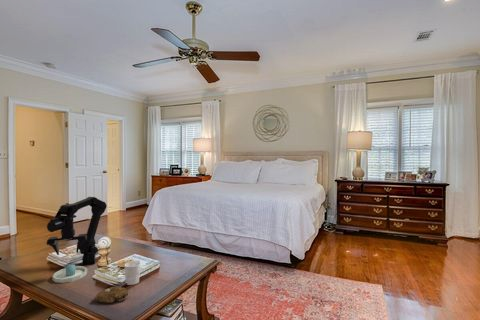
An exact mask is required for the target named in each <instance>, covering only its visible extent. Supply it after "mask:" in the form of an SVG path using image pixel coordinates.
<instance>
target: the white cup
mask: <svg viewBox="0 0 480 320" xmlns="http://www.w3.org/2000/svg"><path fill="white" fill-rule="evenodd" d="M140 274H141V262H140V261H138V260H131V261H127V262H126V263H125V264H124V278H125V283H126V282H127V284H126V285H127V286H133V285H136V284H138V283H139V282H140V276H141V275H140Z"/></svg>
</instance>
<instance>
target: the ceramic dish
mask: <svg viewBox="0 0 480 320" xmlns="http://www.w3.org/2000/svg"><path fill="white" fill-rule="evenodd" d="M87 274H88V268H87V267H86V266H85V265H82V266H81V265H75V275H73V276H69V277H67V276H66V267H64V268H62V269H59V270H58V271H56V272H54V274H53V275H52V281H54V283H59V284H60V283H61V284H64V283H72V282H75V281H78V280H81V279H83V278H84V277H85V276H87Z"/></svg>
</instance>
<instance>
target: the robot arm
mask: <svg viewBox="0 0 480 320" xmlns="http://www.w3.org/2000/svg"><path fill="white" fill-rule="evenodd" d="M88 206H89V207H91V214H92V215H91V218H90V220H89V221H90V222H89V225H88V227H87V231H86V233H80V234H78V235H76V229H74V218H77V215H75V214H76V213H78V211H79V210H81V209H83V208H85V207H88ZM106 209H107V203H106V201H103V200H101V199H98V198H97V197H96V196H88V197H86V198H83V199H82V200H79V201H76V202H73V203H67V204H66V203H65V204H62V205H61V206H59V209H58V210H57V212H56V214H55V215H54V218H51V219H50V220H49V221H48V223H47V225H46V228H47V231H48V232H50V233H54V232H58V231H60V235H61V237H59V236H50V237H49V238H48V239H47V240H46V246H49V247H52V249H53V250H54V252H55V254H56V255H57V256H59V254H60V250H59V249H60V248H59V242H67V241H75V240H76V241H77V243H76V251H75V252H76V253H77V254H78V252H80V254H81V255H83V256H82V257H81V258H82V259H81V261H82V263H81V264H82V266H89V265H95V264H96V261H97V259H96V255H97V254H98V252H99V248H98V247H97V246H96V240H95V236H96V233H97V230H98V226H99V222H100V220H101V216H102V215H103V214H104V213H105V211H106Z"/></svg>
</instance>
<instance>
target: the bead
mask: <svg viewBox="0 0 480 320" xmlns="http://www.w3.org/2000/svg"><path fill="white" fill-rule="evenodd" d="M75 266H76V264H73V263H72V264H68V265H66V266H65V268H66V276H67V277H69V276H73V275H75Z"/></svg>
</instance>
